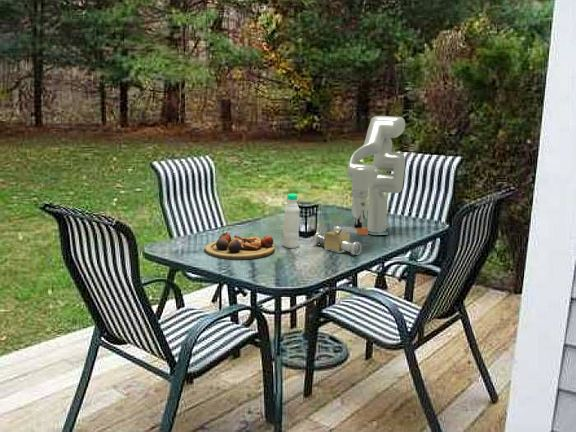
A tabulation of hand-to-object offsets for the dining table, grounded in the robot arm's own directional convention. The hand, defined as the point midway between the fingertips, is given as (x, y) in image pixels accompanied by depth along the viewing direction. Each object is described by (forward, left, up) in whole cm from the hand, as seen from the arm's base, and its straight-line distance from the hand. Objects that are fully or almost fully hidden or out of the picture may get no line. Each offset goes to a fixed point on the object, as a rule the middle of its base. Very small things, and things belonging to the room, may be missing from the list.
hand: (357, 232), depth 289 cm
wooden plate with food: (+43, -33, -9) cm, 55 cm away
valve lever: (+5, 0, +1) cm, 5 cm away
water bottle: (+21, -23, -8) cm, 32 cm away
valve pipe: (+9, -5, -8) cm, 13 cm away
